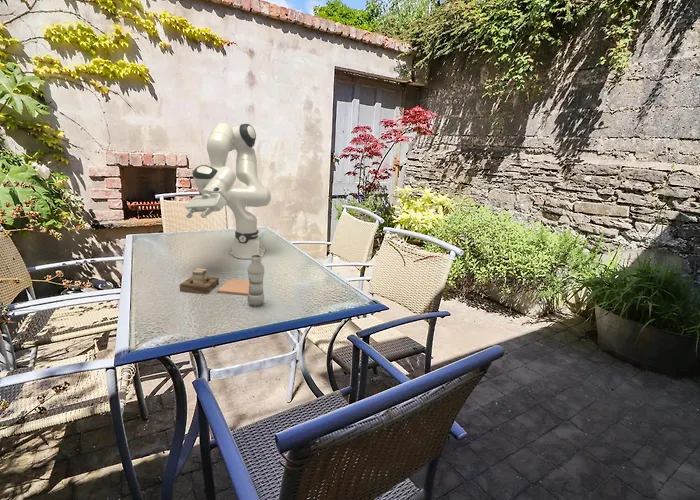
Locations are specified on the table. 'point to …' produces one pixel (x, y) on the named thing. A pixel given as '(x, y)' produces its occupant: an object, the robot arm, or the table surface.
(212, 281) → the walnut collar holder
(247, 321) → the table surface
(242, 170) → the robot arm
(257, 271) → the plastic bottle
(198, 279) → the block
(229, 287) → the terracotta tile
